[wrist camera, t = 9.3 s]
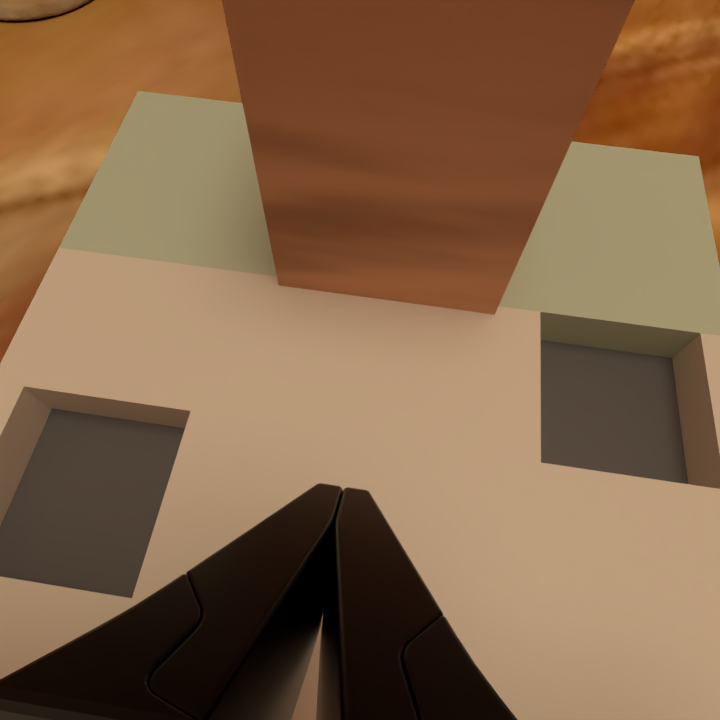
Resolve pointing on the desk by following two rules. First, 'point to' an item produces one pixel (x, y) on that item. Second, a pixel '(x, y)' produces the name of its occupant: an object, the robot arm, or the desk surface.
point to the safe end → (534, 269)
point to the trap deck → (369, 471)
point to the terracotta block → (412, 134)
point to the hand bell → (36, 8)
